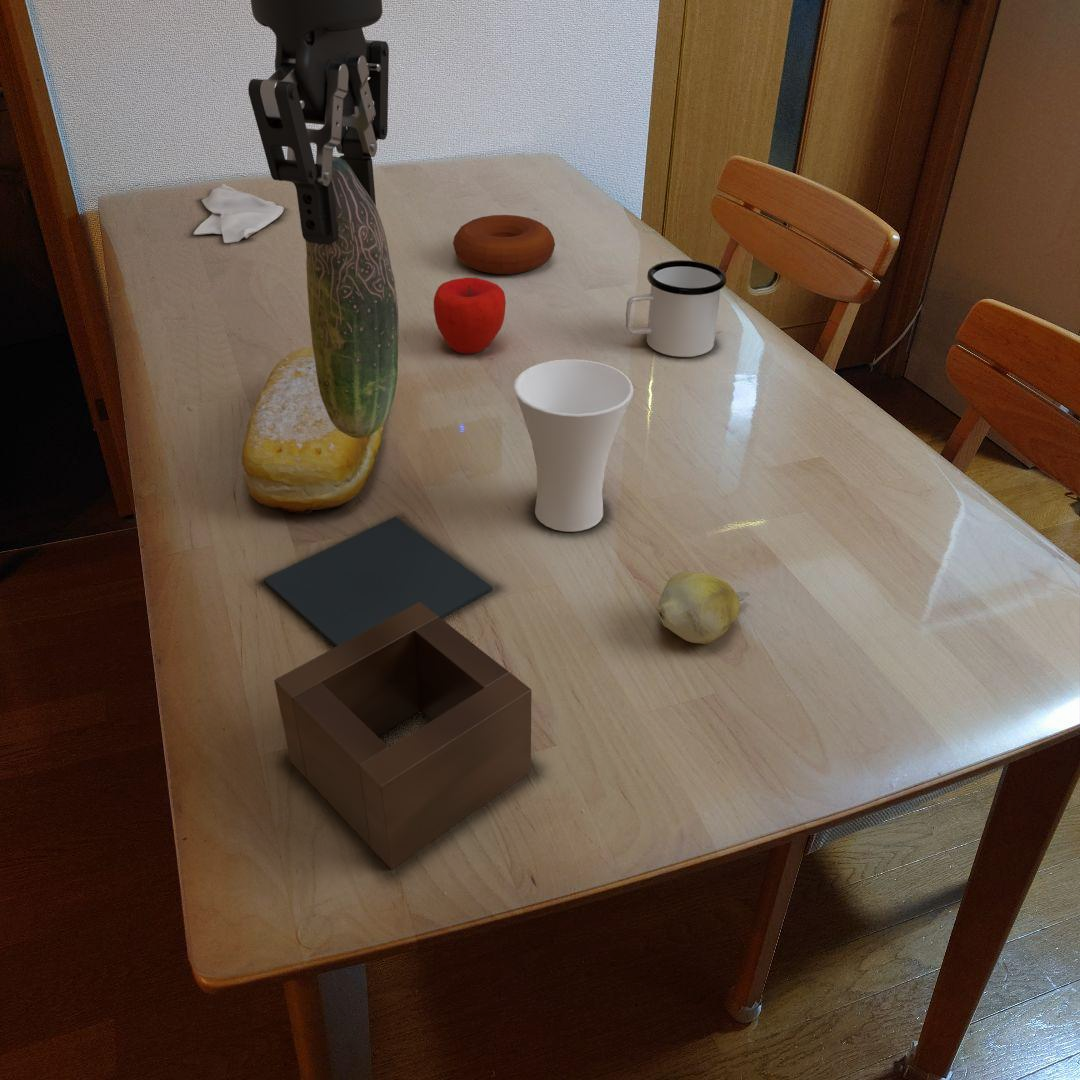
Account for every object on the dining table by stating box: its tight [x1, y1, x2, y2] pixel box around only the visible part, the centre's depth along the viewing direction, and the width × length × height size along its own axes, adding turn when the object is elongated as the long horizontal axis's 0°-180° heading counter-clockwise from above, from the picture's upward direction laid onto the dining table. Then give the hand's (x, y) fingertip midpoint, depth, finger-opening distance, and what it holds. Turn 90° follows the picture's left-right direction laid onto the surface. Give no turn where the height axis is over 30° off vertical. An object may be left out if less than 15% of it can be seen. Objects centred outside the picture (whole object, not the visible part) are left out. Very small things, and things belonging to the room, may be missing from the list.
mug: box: [625, 259, 727, 358], centre depth 123 cm, size 12×10×9 cm
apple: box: [433, 277, 507, 355], centre depth 122 cm, size 9×9×8 cm
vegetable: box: [304, 155, 400, 438], centre depth 70 cm, size 6×6×20 cm
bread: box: [241, 346, 385, 514], centre depth 102 cm, size 13×26×8 cm, turn 4°
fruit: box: [655, 571, 751, 645], centre depth 82 cm, size 6×6×10 cm
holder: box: [273, 602, 532, 870], centre depth 68 cm, size 12×12×8 cm
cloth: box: [193, 183, 285, 244], centre depth 162 cm, size 26×14×2 cm, turn 10°
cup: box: [513, 358, 634, 533], centre depth 92 cm, size 10×10×14 cm
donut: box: [452, 214, 556, 275], centre depth 147 cm, size 15×15×5 cm
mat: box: [263, 516, 493, 648], centre depth 87 cm, size 14×14×1 cm
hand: (340, 226), depth 67 cm, fingers closed on vegetable, 5 cm apart
